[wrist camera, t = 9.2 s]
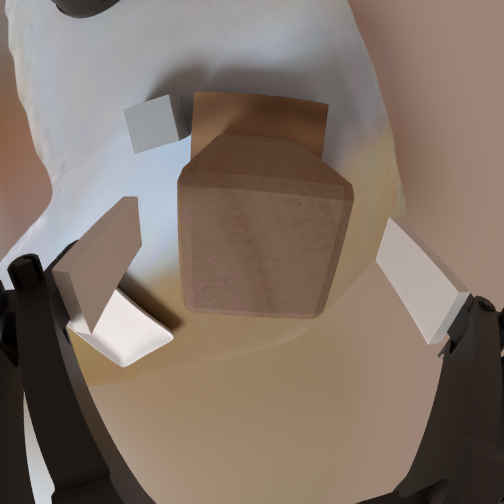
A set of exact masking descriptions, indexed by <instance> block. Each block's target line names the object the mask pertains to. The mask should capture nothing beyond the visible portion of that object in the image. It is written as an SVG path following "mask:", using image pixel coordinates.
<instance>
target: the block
mask: <svg viewBox="0 0 504 504" xmlns="http://www.w3.org/2000/svg"><path fill="white" fill-rule="evenodd" d="M353 202H354V194H353V187H352V184H350V183H349V182H348V181H347V180H346V179H344V178H343V177H342V176H341V175H339V174H338V173H337V172H336V171H334V170H333V169H332V168H331V167H329V166H328V165H327V164H325V163H324V162H323V161H321V160H320V159H319V158H317V157H316V156H315V155H313V154H312V153H311V152H309V151H308V150H307V149H305V148H304V147H303V146H301V145H300V144H298V143H297V142H295V141H293V140H288V139H279V138H270V137H261V136H249V135H236V134H221V135H218V136H217V137H216V138H214V139H213V140H212V141H211V142H210V143H209V144H208V145H207V146H206V147H205V148H204V149H202V150H201V151H200V152H199V153H198V154H197V155H196V156H195V157H194V158H193V159H192V160H191V161H190V162H189V163H188V164H187V165H186V166H185V167H184V168H183V169H182V171H181V174H180V176H179V178H178V181H177V204H178V244H179V265H180V282H181V296H182V299H183V302H184V305H185V307H186V309H188V310H190V311H193V312H196V313H207V314H220V315H233V316H249V317H269V318H295V319H312V318H315V317H319V316H320V315H321V313H322V312H323V310H324V307H325V304H326V301H327V298H328V294H329V291H330V288H331V285H332V281H333V278H334V275H335V271H336V268H337V264H338V261H339V257H340V253H341V250H342V246H343V242H344V238H345V235H346V231H347V227H348V223H349V219H350V214H351V210H352V206H353Z"/></svg>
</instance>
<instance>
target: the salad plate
mask: <svg viewBox="0 0 504 504" xmlns="http://www.w3.org/2000/svg"><path fill="white" fill-rule="evenodd" d="M67 326H68V327H70V328H71V329H72V330H73V331H74V332H75V333H77V334H78V335H79V336H80V337H81V338H83V339H84V340H85V341H86V342H88V343H89V344H90V345H92V346H93V347H94V348H96V349H97V350H98V351H100V352H101V353H102V354H104V355H105V356H106V357H108V358H109V359H111V360H112V361H113V362H115V363H116V364H118V365H119V366H121V367H126V366H128V365H130V364H132V363H133V362H135V361H137V360H138V359H140V358H142V357H143V356H145V355H147V354H149V353H150V352H152V351H154V350H156V349H158V348H159V347H161V346H163V345H165V344H167V343H168V342H170V341H172V340H173V339H174V335H173V333H172V332H171V331H170V330H169V329H168V328H167V327H166V326H164V325H163V324H162V323H160V322H159V321H158V320H156V319H155V318H154V317H152V316H151V315H150V314H148V313H147V312H146V311H144V310H143V309H142V308H141V307H140V306H138V305H137V304H136V303H135V302H134V301H132V300H131V299H130V298H129V297H128V296H127V295H125V294H124V293H123V292H122V291H121V290H120V289H119V288H118V287H116V289H115V291H114V293H113V295H112V296H111V298H110V300H109V302H108V304H107V306H106V307H105V309H104V311H103V313H102V315H101V317H100V319H99V321H98V323H97V325H96V326H95V328H94V330H93V332H92V334H91V335H90V334H85V333H80V332H76V331H75V330H74V328H73V326H72V324H71V321H69V322H68V324H67Z"/></svg>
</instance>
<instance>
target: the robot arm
mask: <svg viewBox="0 0 504 504" xmlns="http://www.w3.org/2000/svg"><path fill="white" fill-rule="evenodd" d="M52 1H53V2H54V3H55V4H56V6H57V8H58V9H59V11H60V12H62V13H63V14H65V15H68V16H71V17H74V18H86V17H91V16H94V15H96V14H99V13H101V12H103V11H105V10H107V9H108V8H110V7H111V6H113V5H114V4H116V3H117V2H118V1H119V0H52ZM141 246H142V241H141V232H140V222H139V211H138V198H137V197H125V196H124V197H123V198H122V199H121V200H119V201H118V202H117V203H116V204H115V205H114V206H113V207H112V208H111V209H110V210H109V211H108V212H106V213H105V214H104V215H103V216H102V217H101V218H100V219H99V220H98V221H97V222H96V223H95V224H94V225H93V226H92V227H91V228H90V229H89V230H88V231H87V232H86V233H85V234H84V235H83V236H82V237H81V238H80V239H79V240H76V241H74V242H72V243H71V244H69V245H68V246H67V247H66V248H65V249H64V250H63V251H62V253H60V254H59V255H58V256H57V259H55V260H54V261H53V262H52V263H51V264H50V265H49V266H48V267H47V269H46V270H45V271H44V272H43V269H42V266H41V262H40V259H39V257H38V255H36V254H26V255H22V256H20V257H18V258H16V259H15V260H14V261H12V263H11V264H10V265H9V266H8V269H7V271H8V273H9V276H10V278H11V281H12V283H13V286H14V288H15V289H13V290H5V288H4V286H3V284H2V282H1V280H0V504H35V500H34V496H33V492H32V487H31V482H30V476H29V470H28V463H27V456H26V446H25V435H24V410H23V400H24V399H23V398H24V392H25V396H26V401H27V405H28V410H29V413H30V417H31V421H32V425H33V428H34V432H35V435H36V438H37V441H38V444H39V447H40V450H41V453H42V456H43V458H44V461H45V464H46V466H47V469H48V471H49V474H50V476H51V478H52V480H53V483H54V487H55V491H54V493H53V494H52V496H51V498H52V504H156V503H155V502H154V501H153V500H152V498H151V497H149V496H148V494H147V493H146V492H145V491H144V489H143V488H142V487H141V485H140V484H139V482H138V481H137V479H136V478H135V476H134V475H133V473H132V472H131V470H130V469H129V467H128V466H127V464H126V462H125V461H124V459H123V457H122V456H121V454H120V452H119V451H118V449H117V447H116V445H115V444H114V442H113V440H112V438H111V436H110V434H109V433H108V430H107V428H106V427H105V425H104V423H103V421H102V419H101V416H100V414H99V412H98V410H97V408H96V406H95V404H94V401H93V399H92V397H91V394H90V392H89V390H88V387H87V385H86V382H85V380H84V377H83V375H82V372H81V369H80V367H79V364H78V361H77V358H76V355H75V352H74V349H73V346H72V343H71V340H70V337H69V333H68V331H67V329H66V326H67V324H68V322H69V321H71V324H72V326H73V328H74V330H75V331H76V332H80V333H85V334H90V335H91V334H92V332H93V330H94V328H95V326H96V325H97V323H98V321H99V319H100V317H101V315H102V313H103V311H104V309H105V307H106V306H107V304H108V302H109V300H110V298H111V296H112V295H113V293H114V291H115V289H116V287H117V286H118V284H119V282H120V280H121V279H122V277H123V275H124V274H125V272H126V270H127V269H128V267H129V265H130V264H131V262H132V260H133V259H134V257H135V255H136V254H137V252H138V251H139V249H140V247H141ZM376 262H377V263H378V265H379V266H380V268H381V269H382V271H383V272H384V274H385V275H386V276H387V278H388V280H389V281H390V283H391V284H392V286H393V287H394V289H395V290H396V292H397V294H398V295H399V297H400V298H401V300H402V301H403V303H404V305H405V306H406V308H407V309H408V311H409V313H410V315H411V316H412V318H413V320H414V321H415V323H416V324H417V326H418V328H419V330H420V332H421V333H422V335H423V337H424V339H425V340H426V342H427V344H428V345H429V344H435V343H440V342H441V341H442V339H443V337H444V336H445V334H446V333H448V334H449V336H450V339H449V340H448V342H447V343H446V345H445V346H444V347H443V349H442V350H441V352H440V353H439V355H438V357H440V356H441V355H442V354H444V357H443V365H442V369H441V374H440V379H439V383H438V388H437V391H436V396H435V399H434V403H433V406H432V410H431V413H430V417H429V420H428V423H427V426H426V429H425V432H424V435H423V438H422V440H421V443H420V446H419V449H418V451H417V454H416V456H415V459H414V461H413V463H412V466H411V468H410V470H409V472H408V474H407V476H406V477H405V478H404V479H403V480H402V482H400V484H399V485H397V487H396V488H395V489H394V490H393V492H391V493H388V494H385V495H382V496H379V497H376V498H372V499H369V500H365V501H362V502H359V503H356V504H504V356H503V357H501V352H502V351H503V349H504V308H503V309H502V311H501V312H497V311H496V309H495V307H494V305H493V304H492V303H491V302H490V301H489V300H487V299H485V298H483V297H481V296H476V297H475V298H474V297H473V296H472V294H471V293H470V291H469V290H468V288H467V287H466V286H465V285H464V284H463V283H462V281H461V280H460V279H459V278H458V277H457V276H456V275H455V273H454V272H453V271H452V270H451V269H450V268H449V267H448V266H447V265H446V264H445V263H444V262H443V261H442V259H441V258H440V257H439V256H438V255H437V254H436V253H435V252H434V251H433V250H432V249H431V248H430V247H429V246H428V245H427V244H426V243H425V242H424V241H423V240H422V239H421V238H420V237H419V236H418V235H417V234H416V233H415V232H414V231H413V230H412V229H411V228H410V227H409V226H408V225H406V224H405V223H404V222H403V221H402V220H401V219H400V218H394V217H389V218H388V222H387V225H386V228H385V232H384V235H383V238H382V241H381V244H380V248H379V251H378V254H377V257H376Z"/></svg>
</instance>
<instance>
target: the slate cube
mask: <svg viewBox="0 0 504 504" xmlns="http://www.w3.org/2000/svg"><path fill="white" fill-rule="evenodd" d="M124 113H125V117H126V121H127V126H128V129H129V133H130V137H131V141H132V145H133V149H134V152H135V154H136V153H139V152H143V151H146V150H149V149H152V148H155V147H159V146H162V145H165V144H169V143H172V142H176V141H180V140H182V139H184V138H186V137H188V136H189V133H188V129H187V125H186V120H185V116H184V112H183V107H182V103H181V98H180V96H176V95H170V94H168V95H165V96H161V97H158V98H155V99H152V100H149V101H147V102H144V103H141V104H138V105H135V106H133V107H130V108H128V109H125V110H124Z"/></svg>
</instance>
